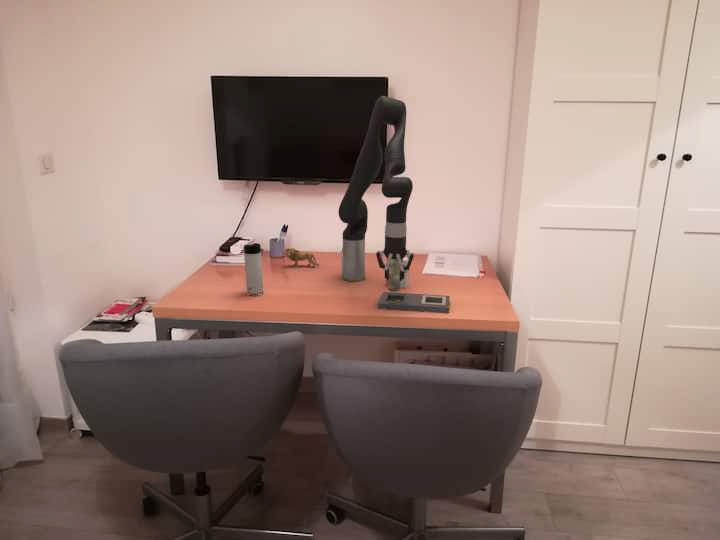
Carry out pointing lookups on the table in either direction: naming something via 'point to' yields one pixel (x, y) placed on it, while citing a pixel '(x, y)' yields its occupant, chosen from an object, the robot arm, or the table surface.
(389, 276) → the peg
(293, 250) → the lion figurine
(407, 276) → the ink cartridge box
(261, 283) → the travel mug
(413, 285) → the table surface
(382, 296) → the grey flat plate
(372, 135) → the robot arm
